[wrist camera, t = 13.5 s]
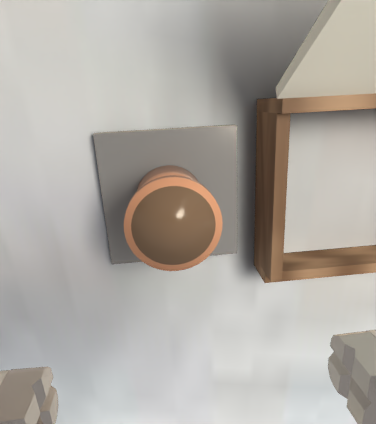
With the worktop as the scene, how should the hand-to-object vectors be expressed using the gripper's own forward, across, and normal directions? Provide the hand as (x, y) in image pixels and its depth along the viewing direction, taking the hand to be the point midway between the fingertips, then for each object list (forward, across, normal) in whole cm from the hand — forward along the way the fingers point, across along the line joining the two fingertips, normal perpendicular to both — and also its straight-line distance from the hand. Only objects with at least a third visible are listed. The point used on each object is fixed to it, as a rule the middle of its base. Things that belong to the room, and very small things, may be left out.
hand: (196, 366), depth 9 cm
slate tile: (+21, 0, +1) cm, 21 cm away
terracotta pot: (+20, 0, +1) cm, 20 cm away
